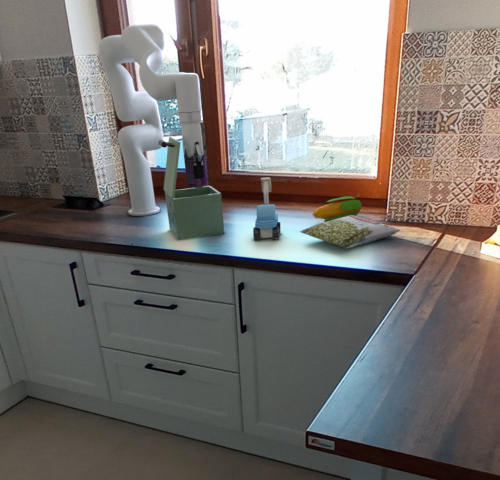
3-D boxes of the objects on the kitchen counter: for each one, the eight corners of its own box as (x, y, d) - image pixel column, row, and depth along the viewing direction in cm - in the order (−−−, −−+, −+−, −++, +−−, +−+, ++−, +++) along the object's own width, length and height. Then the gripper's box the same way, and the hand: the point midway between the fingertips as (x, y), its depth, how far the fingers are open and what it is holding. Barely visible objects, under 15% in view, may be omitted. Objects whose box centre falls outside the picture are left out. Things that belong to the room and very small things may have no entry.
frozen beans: (298, 222, 185) (356, 207, 196) (298, 240, 188) (355, 224, 199) (344, 237, 170) (403, 220, 182) (343, 257, 173) (401, 239, 185)
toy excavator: (282, 227, 203) (280, 175, 194) (279, 241, 189) (277, 186, 180) (257, 228, 204) (255, 176, 195) (253, 242, 190) (250, 187, 181)
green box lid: (171, 137, 194) (156, 134, 192) (180, 142, 182) (164, 139, 180) (165, 190, 202) (151, 188, 200) (174, 198, 190) (159, 196, 188)
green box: (213, 224, 213) (210, 185, 206) (224, 233, 201) (221, 193, 194) (169, 230, 209) (164, 191, 202) (178, 240, 197) (173, 199, 190)
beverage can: (211, 184, 199) (208, 146, 193) (203, 188, 193) (199, 149, 187) (192, 183, 201) (188, 146, 195) (183, 188, 196) (179, 149, 189)
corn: (367, 194, 204) (318, 203, 197) (366, 217, 208) (319, 226, 201) (354, 192, 210) (307, 201, 203) (354, 214, 214) (308, 223, 207)
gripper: (173, 116, 192) (180, 173, 202) (185, 121, 178) (191, 182, 188) (195, 114, 194) (201, 171, 204) (208, 118, 180) (214, 179, 190)
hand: (196, 176), depth 196 cm, fingers closed on beverage can, 6 cm apart
